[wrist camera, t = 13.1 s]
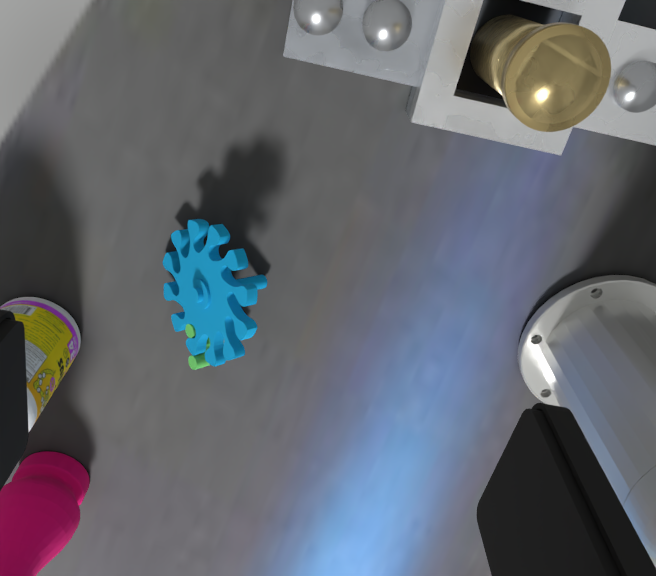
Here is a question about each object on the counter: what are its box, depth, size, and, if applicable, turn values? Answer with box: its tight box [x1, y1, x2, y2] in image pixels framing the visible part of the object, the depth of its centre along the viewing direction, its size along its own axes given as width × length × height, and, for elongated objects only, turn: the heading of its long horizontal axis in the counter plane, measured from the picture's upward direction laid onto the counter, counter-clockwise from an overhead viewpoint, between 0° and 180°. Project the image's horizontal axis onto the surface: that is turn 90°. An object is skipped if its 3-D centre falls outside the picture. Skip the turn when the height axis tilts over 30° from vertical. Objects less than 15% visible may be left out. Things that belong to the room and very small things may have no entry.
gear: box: [163, 219, 267, 370], centre depth 42 cm, size 11×6×10 cm
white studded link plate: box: [283, 0, 656, 155], centre depth 35 cm, size 26×10×4 cm, turn 78°
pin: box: [470, 15, 611, 132], centre depth 32 cm, size 5×5×10 cm
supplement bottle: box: [0, 297, 81, 431], centre depth 41 cm, size 7×7×13 cm
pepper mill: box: [0, 451, 90, 576], centre depth 45 cm, size 7×7×20 cm
